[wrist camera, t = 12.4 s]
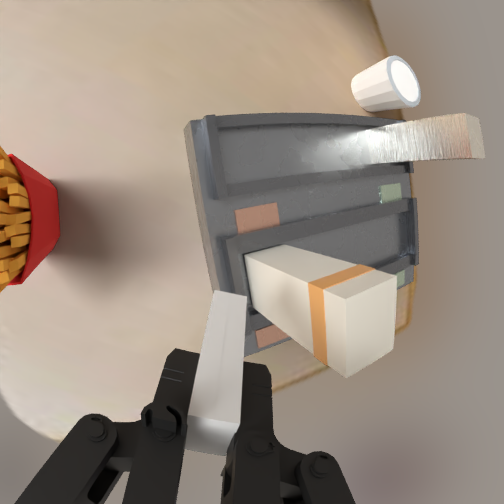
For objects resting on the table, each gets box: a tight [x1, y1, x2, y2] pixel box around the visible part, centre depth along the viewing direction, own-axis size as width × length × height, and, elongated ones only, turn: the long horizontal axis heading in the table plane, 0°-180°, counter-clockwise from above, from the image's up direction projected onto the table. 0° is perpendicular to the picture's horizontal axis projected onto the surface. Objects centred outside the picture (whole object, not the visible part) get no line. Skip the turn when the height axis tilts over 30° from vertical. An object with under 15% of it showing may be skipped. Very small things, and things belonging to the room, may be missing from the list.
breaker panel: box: [184, 113, 485, 357], centre depth 24 cm, size 22×27×16 cm
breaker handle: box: [244, 244, 397, 378], centre depth 20 cm, size 5×4×13 cm
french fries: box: [0, 146, 60, 292], centre depth 15 cm, size 8×4×12 cm, turn 3°
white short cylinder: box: [351, 55, 421, 112], centre depth 29 cm, size 7×7×7 cm
